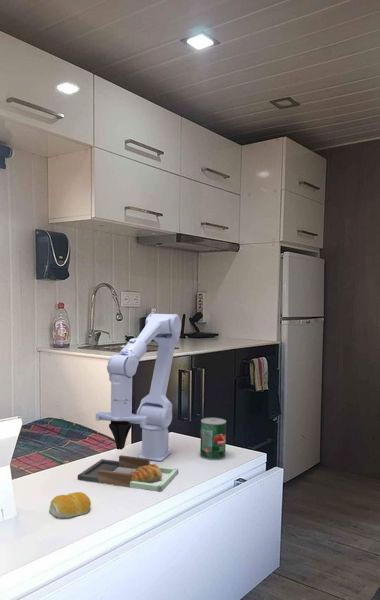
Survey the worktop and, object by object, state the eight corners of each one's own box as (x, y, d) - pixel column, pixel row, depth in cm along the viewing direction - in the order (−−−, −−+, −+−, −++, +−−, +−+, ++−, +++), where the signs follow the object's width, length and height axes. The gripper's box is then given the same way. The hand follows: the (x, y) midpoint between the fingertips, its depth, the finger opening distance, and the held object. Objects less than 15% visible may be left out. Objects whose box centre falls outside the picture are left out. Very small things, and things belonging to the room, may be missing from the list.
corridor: (120, 465, 143) (120, 455, 143) (149, 469, 140) (149, 458, 140) (98, 482, 130) (98, 471, 130) (129, 487, 127) (130, 475, 127)
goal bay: (149, 469, 140) (149, 465, 140) (178, 472, 138) (178, 468, 138) (129, 487, 127) (129, 482, 127) (160, 491, 125) (161, 486, 125)
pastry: (135, 489, 126) (135, 474, 126) (120, 481, 131) (120, 467, 131) (164, 480, 133) (164, 466, 133) (148, 473, 138) (148, 460, 138)
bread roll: (96, 512, 112) (97, 494, 112) (59, 522, 107) (60, 504, 107) (80, 500, 119) (80, 483, 119) (44, 509, 113) (44, 492, 113)
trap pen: (101, 463, 145) (101, 459, 145) (120, 465, 143) (120, 461, 143) (77, 479, 131) (77, 475, 131) (98, 482, 130) (98, 478, 130)
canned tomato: (225, 460, 149) (225, 424, 149) (199, 459, 150) (199, 423, 150) (225, 452, 157) (226, 418, 157) (201, 451, 158) (201, 417, 158)
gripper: (90, 399, 134) (89, 449, 134) (140, 404, 129) (139, 455, 130) (102, 394, 140) (101, 442, 140) (150, 398, 136) (149, 447, 136)
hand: (120, 448), depth 135 cm, fingers closed
